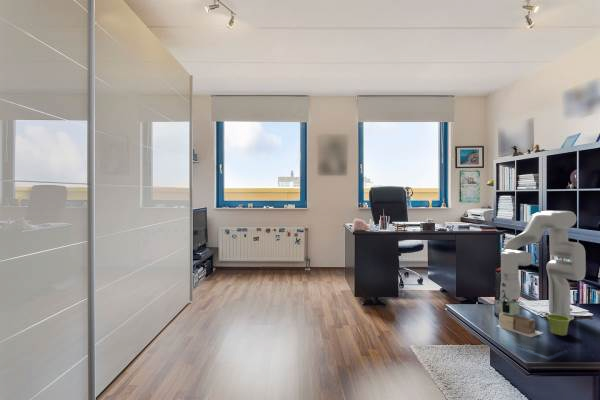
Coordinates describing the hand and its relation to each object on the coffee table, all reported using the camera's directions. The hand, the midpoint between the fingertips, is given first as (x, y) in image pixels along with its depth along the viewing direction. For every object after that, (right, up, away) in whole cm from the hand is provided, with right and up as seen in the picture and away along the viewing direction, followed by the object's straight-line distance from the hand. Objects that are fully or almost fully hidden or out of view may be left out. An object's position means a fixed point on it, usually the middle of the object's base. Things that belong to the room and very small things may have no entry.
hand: (509, 311), depth 177 cm
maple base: (0, -8, 0) cm, 8 cm away
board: (+2, -9, -4) cm, 10 cm away
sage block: (0, -1, 0) cm, 1 cm away
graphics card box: (+10, -9, +20) cm, 24 cm away
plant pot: (+18, -9, -9) cm, 22 cm away
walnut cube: (+3, -8, -7) cm, 11 cm away
